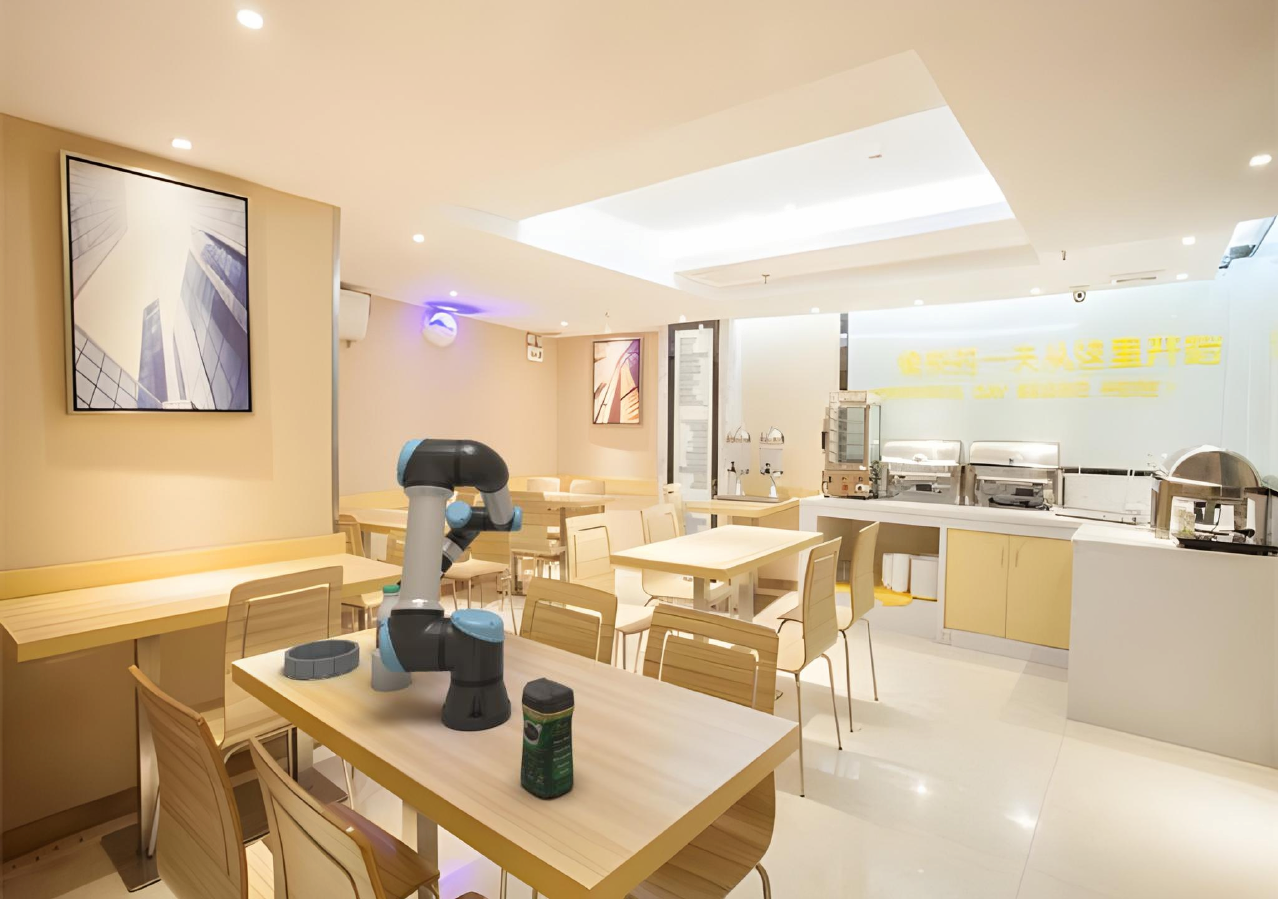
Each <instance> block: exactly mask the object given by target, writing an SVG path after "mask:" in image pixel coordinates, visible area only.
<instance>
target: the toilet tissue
mask: <svg viewBox="0 0 1278 899" xmlns="http://www.w3.org/2000/svg"><path fill="white" fill-rule="evenodd" d="M412 676H413V672H409V673H404V672H392V671H389V670H387V669H386V668H385V667H384V665H383V663H382V661H381V657H380V652H379V649H376V648H375V650H374V651H372V653H371V683H370V684H371V688H372V689H373V691H375V692H384V693H386V692H387V693H388V692H396V691H401V690H403V689H406V688H408V687H410V685H411V684H412V683H413V682H412V680H413V677H412Z"/></svg>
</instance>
